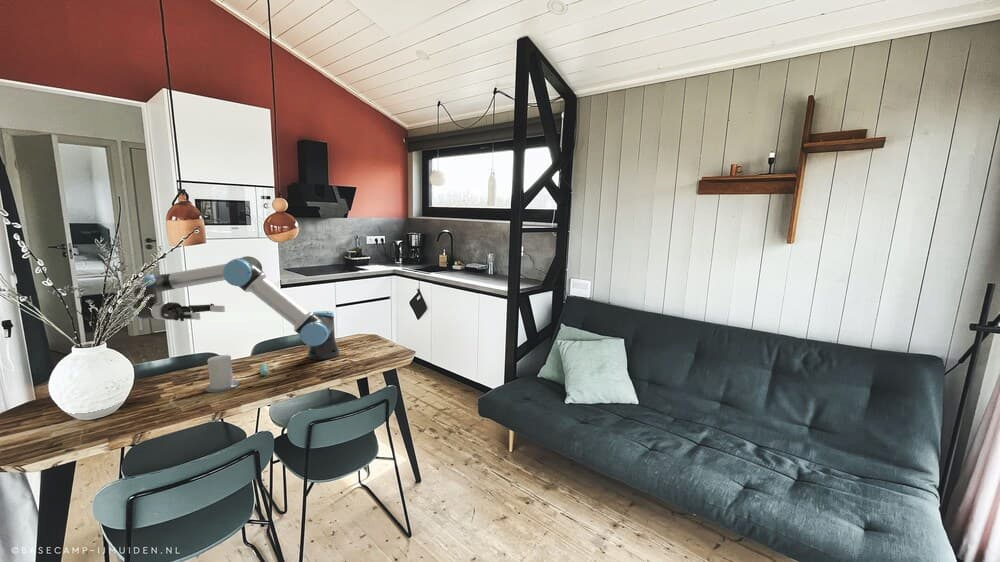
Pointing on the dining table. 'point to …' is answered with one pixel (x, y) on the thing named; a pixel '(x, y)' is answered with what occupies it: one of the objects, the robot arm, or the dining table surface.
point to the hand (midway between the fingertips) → (212, 312)
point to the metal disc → (235, 384)
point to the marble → (264, 371)
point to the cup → (220, 372)
